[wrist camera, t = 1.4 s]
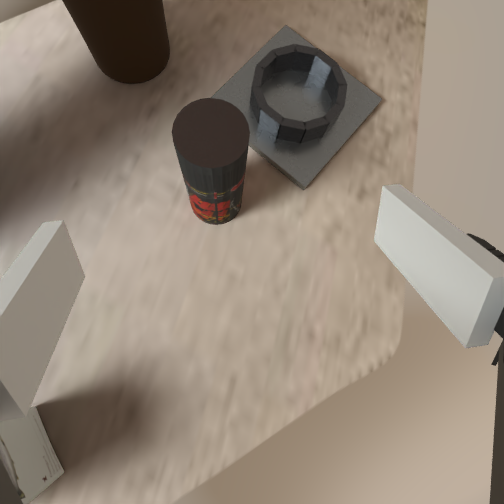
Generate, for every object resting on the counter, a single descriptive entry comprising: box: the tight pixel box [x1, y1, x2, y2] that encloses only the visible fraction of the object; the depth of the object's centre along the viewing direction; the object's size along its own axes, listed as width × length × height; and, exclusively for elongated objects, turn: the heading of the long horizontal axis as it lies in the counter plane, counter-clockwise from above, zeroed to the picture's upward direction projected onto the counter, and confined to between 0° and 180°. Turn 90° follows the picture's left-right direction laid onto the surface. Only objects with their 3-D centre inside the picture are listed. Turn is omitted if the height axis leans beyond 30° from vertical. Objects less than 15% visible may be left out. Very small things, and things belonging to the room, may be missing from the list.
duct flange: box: [211, 25, 382, 190], centre depth 43 cm, size 16×16×4 cm
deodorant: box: [172, 98, 250, 225], centre depth 34 cm, size 6×6×15 cm
